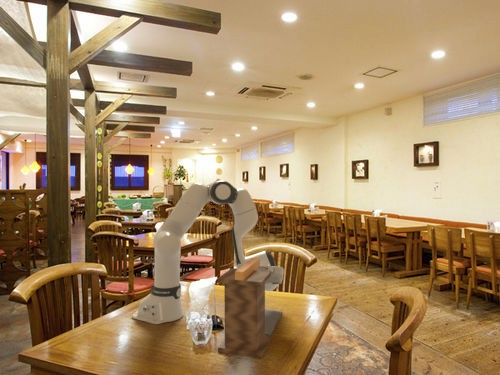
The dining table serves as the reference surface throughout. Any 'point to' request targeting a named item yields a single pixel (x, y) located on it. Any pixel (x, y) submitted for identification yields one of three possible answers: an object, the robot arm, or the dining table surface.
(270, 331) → the mat
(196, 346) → the dining table surface
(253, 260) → the bar
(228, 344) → the wooden pillar on base
